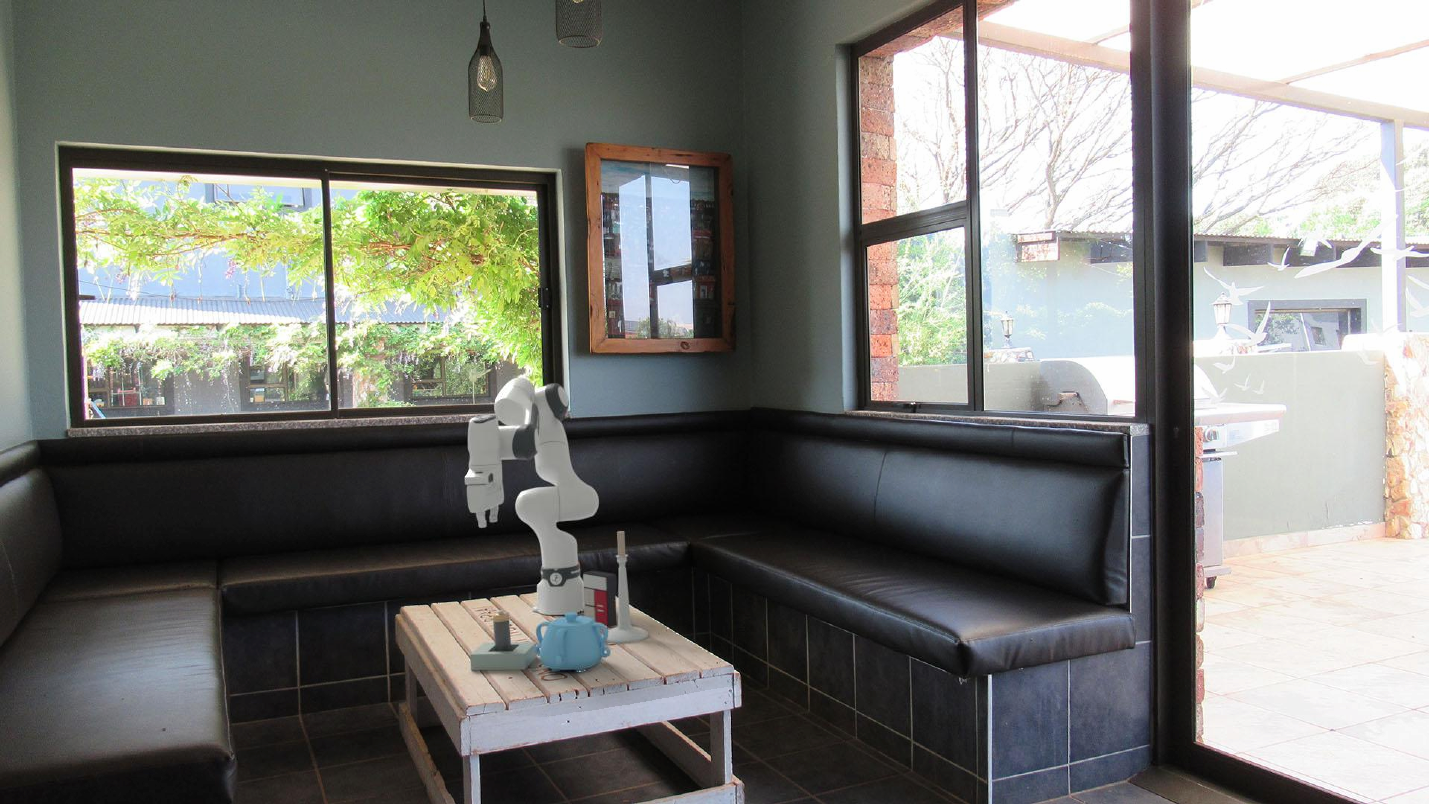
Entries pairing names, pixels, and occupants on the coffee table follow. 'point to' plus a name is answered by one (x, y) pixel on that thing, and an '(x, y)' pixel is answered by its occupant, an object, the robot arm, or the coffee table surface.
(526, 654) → the block
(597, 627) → the decorative pot
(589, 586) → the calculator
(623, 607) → the candlestick
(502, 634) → the battery cell
